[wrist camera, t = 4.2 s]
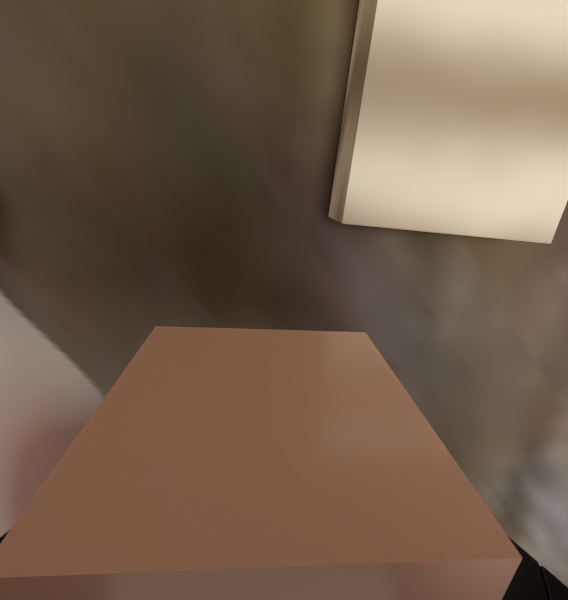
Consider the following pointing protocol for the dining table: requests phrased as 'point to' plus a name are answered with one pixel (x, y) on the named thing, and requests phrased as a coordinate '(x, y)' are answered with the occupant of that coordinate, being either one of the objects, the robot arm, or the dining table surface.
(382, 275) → the dining table surface
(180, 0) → the dining table surface
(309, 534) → the cube
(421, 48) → the base
